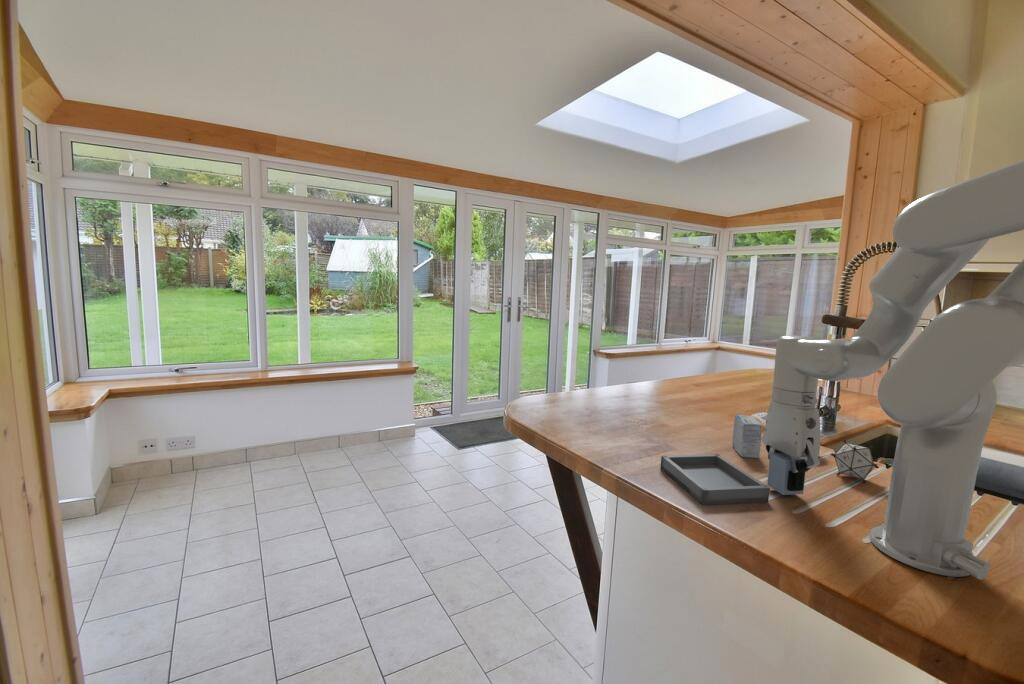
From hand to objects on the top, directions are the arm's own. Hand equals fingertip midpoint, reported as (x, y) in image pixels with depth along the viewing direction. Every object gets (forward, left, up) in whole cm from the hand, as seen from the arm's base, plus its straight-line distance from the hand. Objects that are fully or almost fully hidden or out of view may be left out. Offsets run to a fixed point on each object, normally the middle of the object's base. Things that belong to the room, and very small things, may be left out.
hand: (785, 483), depth 93 cm
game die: (+6, -22, -2) cm, 23 cm away
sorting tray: (+5, +13, -2) cm, 14 cm away
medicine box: (+22, -7, -2) cm, 23 cm away
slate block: (0, 0, -1) cm, 1 cm away
